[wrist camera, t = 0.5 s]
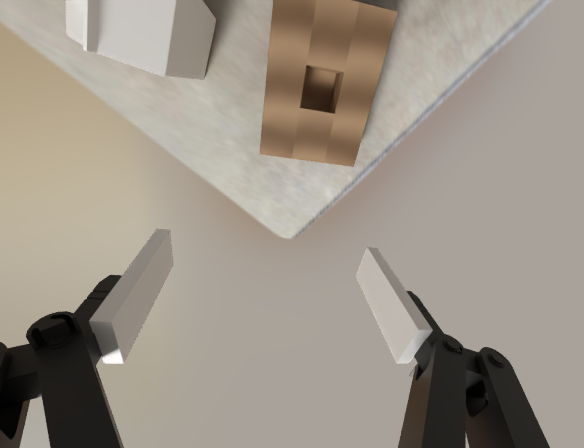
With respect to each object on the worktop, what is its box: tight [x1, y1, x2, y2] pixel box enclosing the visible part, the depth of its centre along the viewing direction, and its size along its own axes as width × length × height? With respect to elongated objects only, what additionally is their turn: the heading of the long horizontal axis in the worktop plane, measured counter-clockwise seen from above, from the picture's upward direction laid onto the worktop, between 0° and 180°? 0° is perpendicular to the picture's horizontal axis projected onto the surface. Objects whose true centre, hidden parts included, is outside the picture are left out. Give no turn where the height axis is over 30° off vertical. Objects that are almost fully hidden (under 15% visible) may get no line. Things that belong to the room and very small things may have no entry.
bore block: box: [260, 0, 398, 167], centre depth 33 cm, size 18×14×5 cm
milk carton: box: [66, 0, 216, 80], centre depth 22 cm, size 7×7×19 cm
